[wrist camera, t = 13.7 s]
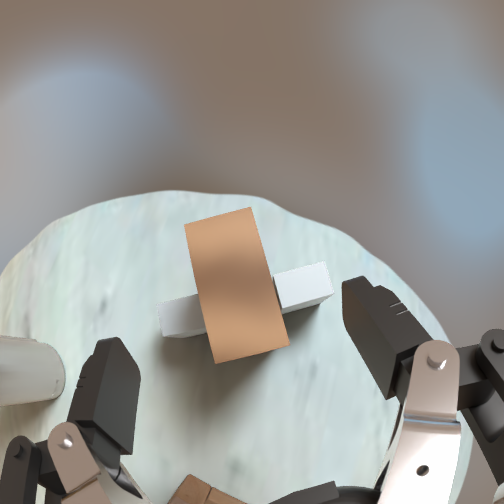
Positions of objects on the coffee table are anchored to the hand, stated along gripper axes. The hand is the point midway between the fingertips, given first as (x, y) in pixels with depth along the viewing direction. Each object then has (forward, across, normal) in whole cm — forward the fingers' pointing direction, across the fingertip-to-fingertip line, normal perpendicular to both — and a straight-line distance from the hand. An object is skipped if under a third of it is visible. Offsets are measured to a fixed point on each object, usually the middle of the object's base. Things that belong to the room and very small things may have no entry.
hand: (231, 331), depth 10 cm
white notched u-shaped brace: (+22, 0, +17) cm, 28 cm away
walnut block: (+22, 0, +17) cm, 28 cm away
